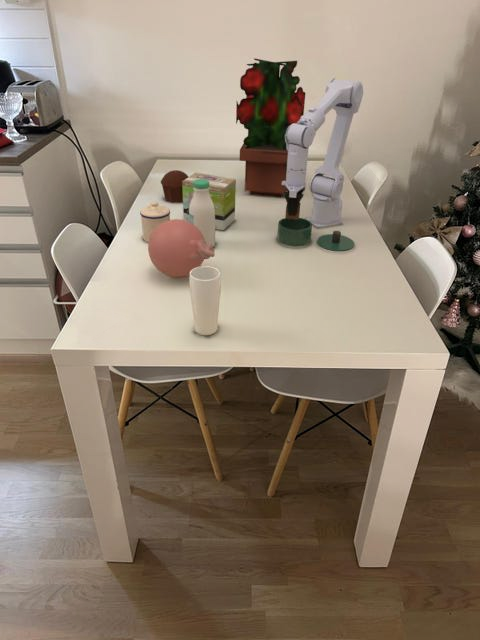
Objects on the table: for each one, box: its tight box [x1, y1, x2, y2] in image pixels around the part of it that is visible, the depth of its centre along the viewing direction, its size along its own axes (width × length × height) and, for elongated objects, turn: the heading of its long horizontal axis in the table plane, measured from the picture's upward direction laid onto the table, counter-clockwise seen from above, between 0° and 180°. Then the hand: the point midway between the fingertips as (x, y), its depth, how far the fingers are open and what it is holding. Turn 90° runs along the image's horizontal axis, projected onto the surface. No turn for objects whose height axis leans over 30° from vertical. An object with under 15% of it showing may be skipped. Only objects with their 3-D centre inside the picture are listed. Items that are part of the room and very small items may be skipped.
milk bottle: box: [189, 179, 216, 248], centre depth 145 cm, size 8×8×20 cm
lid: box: [316, 230, 355, 252], centre depth 152 cm, size 11×11×4 cm
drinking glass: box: [188, 265, 222, 336], centre depth 110 cm, size 7×7×15 cm
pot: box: [276, 217, 313, 248], centre depth 153 cm, size 10×10×6 cm
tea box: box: [182, 172, 237, 232], centre depth 162 cm, size 15×10×15 cm
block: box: [284, 202, 302, 220], centre depth 149 cm, size 4×4×4 cm
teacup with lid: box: [139, 201, 171, 243], centre depth 152 cm, size 12×9×12 cm
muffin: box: [160, 170, 189, 204], centre depth 181 cm, size 12×11×10 cm
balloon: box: [147, 218, 215, 278], centre depth 130 cm, size 15×20×15 cm
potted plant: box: [235, 58, 306, 198], centre depth 180 cm, size 22×22×45 cm
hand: (292, 212), depth 150 cm, fingers closed on block, 4 cm apart
